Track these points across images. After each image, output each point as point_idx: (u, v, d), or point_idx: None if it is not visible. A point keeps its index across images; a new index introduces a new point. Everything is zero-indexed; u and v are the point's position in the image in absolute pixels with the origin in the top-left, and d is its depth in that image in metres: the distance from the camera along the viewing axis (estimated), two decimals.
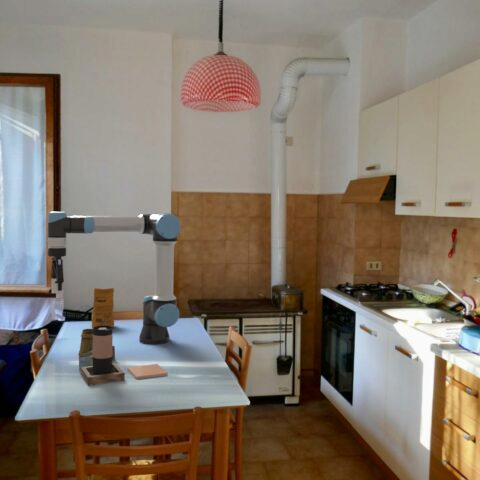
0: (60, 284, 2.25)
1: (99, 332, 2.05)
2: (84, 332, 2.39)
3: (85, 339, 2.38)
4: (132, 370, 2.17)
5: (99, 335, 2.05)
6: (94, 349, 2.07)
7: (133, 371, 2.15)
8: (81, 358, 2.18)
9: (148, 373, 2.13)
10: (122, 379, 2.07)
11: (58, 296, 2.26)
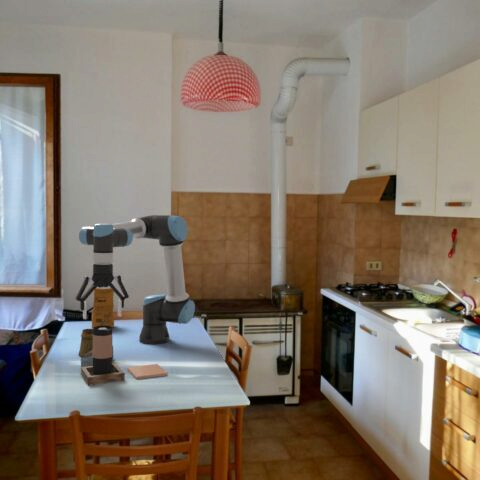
0: (80, 303, 2.04)
1: (99, 332, 2.05)
2: (84, 332, 2.39)
3: (85, 339, 2.38)
4: (132, 370, 2.17)
5: (99, 335, 2.05)
6: (94, 349, 2.07)
7: (133, 371, 2.15)
8: (83, 358, 2.18)
9: (148, 373, 2.13)
10: (122, 379, 2.07)
11: (83, 316, 2.06)
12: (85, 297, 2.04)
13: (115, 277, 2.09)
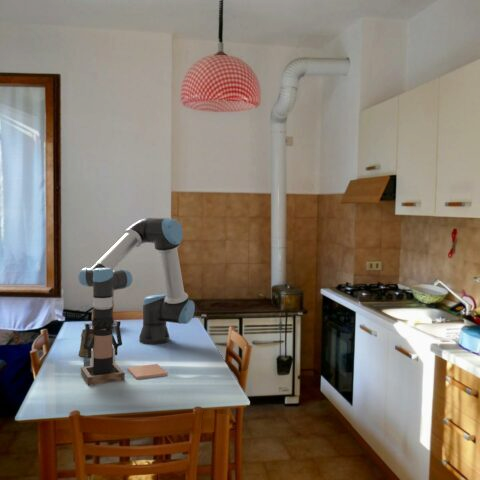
0: None
1: (99, 332, 2.05)
2: (84, 332, 2.39)
3: None
4: (132, 370, 2.17)
5: (99, 334, 2.05)
6: (94, 349, 2.07)
7: (133, 371, 2.15)
8: (86, 359, 2.17)
9: (148, 373, 2.13)
10: (122, 379, 2.07)
11: (90, 363, 2.08)
12: (91, 345, 2.06)
13: (115, 322, 2.11)
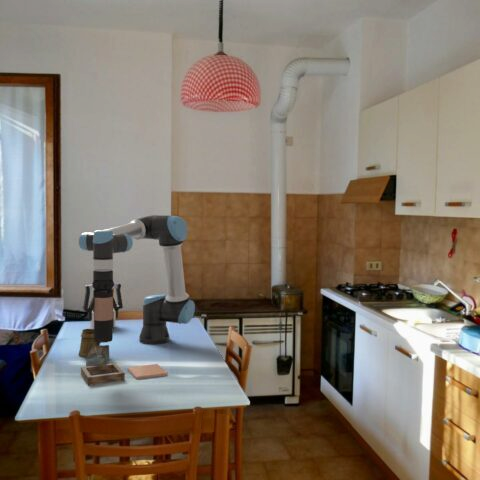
0: (88, 313, 2.06)
1: (99, 294, 2.05)
2: (84, 332, 2.39)
3: (85, 339, 2.38)
4: (132, 370, 2.17)
5: (100, 297, 2.05)
6: (95, 311, 2.06)
7: (133, 371, 2.15)
8: (89, 359, 2.17)
9: (148, 373, 2.13)
10: (122, 379, 2.07)
11: (91, 326, 2.08)
12: (91, 307, 2.05)
13: (115, 285, 2.10)
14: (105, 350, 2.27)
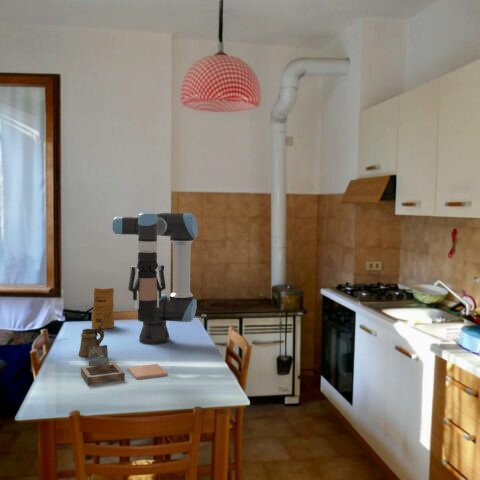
0: (133, 293, 2.13)
1: (144, 275, 2.11)
2: (84, 332, 2.39)
3: (85, 339, 2.38)
4: (132, 370, 2.17)
5: (145, 277, 2.11)
6: (139, 291, 2.13)
7: (133, 371, 2.15)
8: (92, 359, 2.17)
9: (148, 373, 2.13)
10: (122, 379, 2.07)
11: (135, 306, 2.14)
12: (136, 287, 2.12)
13: (159, 266, 2.17)
14: (105, 350, 2.28)
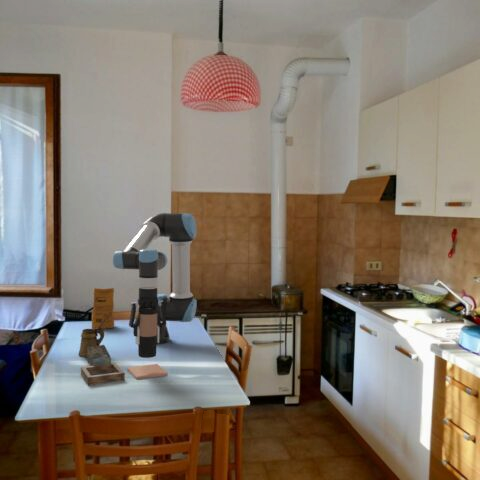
0: (134, 329, 2.14)
1: (145, 311, 2.12)
2: (84, 332, 2.39)
3: (85, 339, 2.38)
4: (132, 370, 2.17)
5: (145, 313, 2.12)
6: (140, 327, 2.14)
7: (133, 371, 2.15)
8: (95, 359, 2.17)
9: (148, 373, 2.13)
10: (122, 379, 2.07)
11: (136, 342, 2.15)
12: (137, 323, 2.13)
13: (159, 302, 2.18)
14: (105, 350, 2.28)
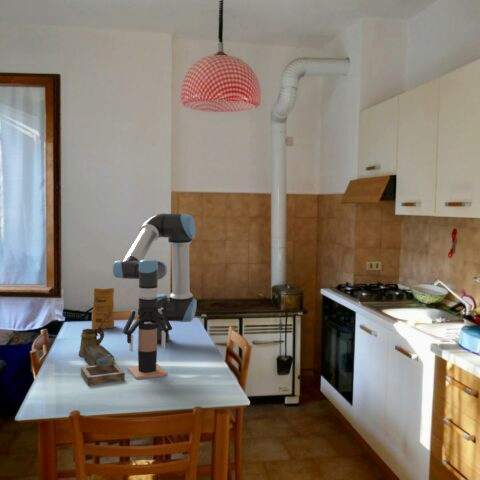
0: (127, 336, 2.13)
1: (145, 326, 2.13)
2: (84, 332, 2.39)
3: (85, 339, 2.38)
4: (132, 370, 2.17)
5: (145, 328, 2.13)
6: (140, 342, 2.14)
7: (133, 371, 2.15)
8: (99, 359, 2.17)
9: (148, 373, 2.13)
10: (122, 379, 2.07)
11: (130, 348, 2.14)
12: (132, 331, 2.12)
13: (159, 310, 2.18)
14: (105, 349, 2.28)
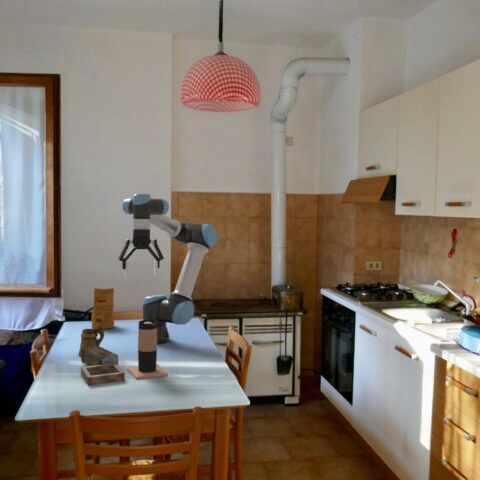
0: (122, 263, 2.33)
1: (145, 326, 2.13)
2: (84, 332, 2.39)
3: (85, 339, 2.38)
4: (132, 370, 2.17)
5: (145, 328, 2.13)
6: (140, 342, 2.14)
7: (133, 371, 2.15)
8: (104, 359, 2.18)
9: (148, 373, 2.13)
10: (122, 379, 2.07)
11: (124, 274, 2.35)
12: (126, 257, 2.33)
13: (152, 241, 2.38)
14: (105, 349, 2.29)
